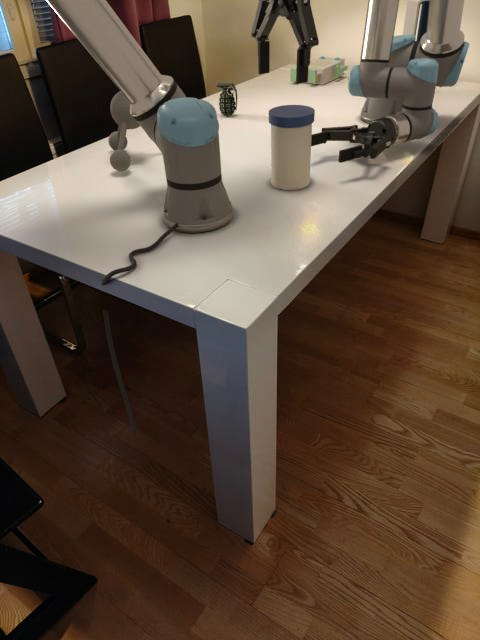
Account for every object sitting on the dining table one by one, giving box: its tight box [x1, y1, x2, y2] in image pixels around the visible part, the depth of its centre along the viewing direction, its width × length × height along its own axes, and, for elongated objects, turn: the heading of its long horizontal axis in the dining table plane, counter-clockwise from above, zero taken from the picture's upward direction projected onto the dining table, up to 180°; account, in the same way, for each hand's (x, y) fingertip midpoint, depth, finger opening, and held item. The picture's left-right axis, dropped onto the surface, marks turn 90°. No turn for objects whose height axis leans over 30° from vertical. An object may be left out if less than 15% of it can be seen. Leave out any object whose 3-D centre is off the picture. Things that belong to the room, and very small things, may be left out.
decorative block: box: [290, 56, 349, 85], centre depth 205 cm, size 26×6×20 cm
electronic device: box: [402, 0, 430, 41], centre depth 170 cm, size 12×8×30 cm, turn 105°
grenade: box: [215, 82, 238, 117], centre depth 166 cm, size 7×6×10 cm
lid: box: [268, 104, 316, 128], centre depth 111 cm, size 10×10×2 cm
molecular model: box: [107, 90, 141, 172], centre depth 131 cm, size 24×22×30 cm
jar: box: [270, 123, 313, 191], centre depth 115 cm, size 9×9×16 cm
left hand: (282, 78), depth 110 cm, fingers open, 13 cm apart
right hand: (321, 149), depth 120 cm, fingers open, 13 cm apart
